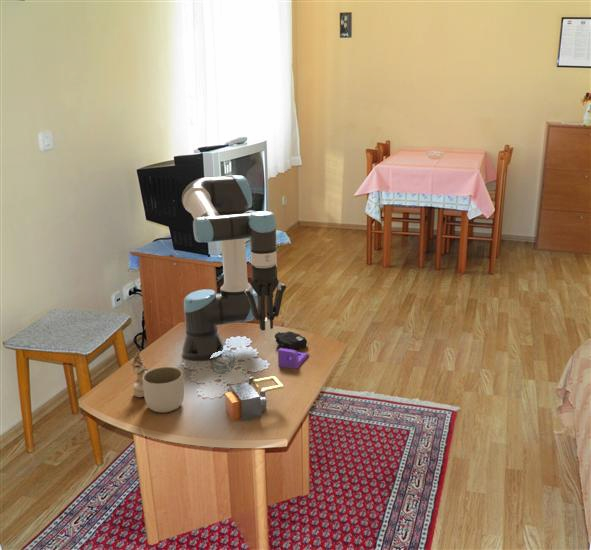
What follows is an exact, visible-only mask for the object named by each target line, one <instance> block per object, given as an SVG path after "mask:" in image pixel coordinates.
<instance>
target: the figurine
mask: <svg viewBox="0 0 591 550" xmlns="http://www.w3.org/2000/svg"><path fill="white" fill-rule="evenodd" d="M143 360H144V359H143V358H142V355H141V354H140V352H136V354H135V355H134V358H133V359H132V360H131V362H130V363H131V366H132V369H133V371H134V375H136V376H137V378H136V379H135V380H134V384H133V386H132V387H133V394H134V397H137V398H141V397H142V398H143V397H144V390H143V381H142V376H143V375H144V374H145V373H146V372H147V371H149V368H148V367H147V366H146V365H145V364H144V362H143Z"/></svg>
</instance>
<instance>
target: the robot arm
mask: <svg viewBox="0 0 591 550" xmlns="http://www.w3.org/2000/svg"><path fill="white" fill-rule="evenodd" d="M181 203H182V205H183V208H184V209H185V211H187V212H188V213H190V214H191V216H192V218H193V220H192V230H193V236H194V241H195V242H197V243H212V242H213V243H214V242H215V243H216V242H221V255H222V270H223V271H222V272H223V284H222V286H220V292H219V293H216V291H215V290H214V289H210V288H209V289H198V290H194V291H192V292H190V293H189V294H187V295H186V296H185V297H184V299H183V312H184V322H185V326H184V327H185V336H184V337H185V338H184V341H183V345H182V356H183V358H185V359H187V360H190V361H198V362H199V361H200V362H202V361H210V360H211V359H210V357H211V355H212V354H213V353H215V352H218V351H222V350H223V349H224V344H223V341H222V338H221V336H220V334H219V331H218V329H219V328H218V326H223V325H230V324H237V323H242V324H243V323H245V322H251V321H253V320H254V319H255V320H257V321H259V322H258V323H259V329H260V330H261V331H262V339H263V340H264V341H265V342H269V341H271V340H272V338H271V330H272V329H273V328H274V320H275V317H277V318H278V317H279V315H280V311H281V310H280V309H281V306H282V301H283V296H284V295H283V294H284V292H285V291H286V289H287V285H285V284H284V283H282V282H280V281H279V279H278V265H277V263H278V260H277V259H278V258H277V256H278V254H277V222H276V214H275V213H274V212H272V211H267V210H262V211H261V210H260V211H256V210H249V208H252V206H253V195H252V190H251V186H250V183H249V182H248V179H247V178H246V176H243V175H234V174H233V175H232V174H231V175H221V176H212V177H211V176H209V177H207V176H206V177H204V176H203V177H200V178H197V179H195V180H193V181H191V182H190V183H189V184H188V185H187V186H186V187H185V189H183V192H182V194H181ZM246 239H250V240H249V241H250V263H251V282H249V281H248V266H247V251H246V250H247V249H246V246H247V245H246ZM275 291H276V292H275ZM274 292H275V297H274ZM273 300H274V301H273Z"/></svg>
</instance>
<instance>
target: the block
mask: <svg viewBox="0 0 591 550" xmlns="http://www.w3.org/2000/svg"><path fill="white" fill-rule="evenodd" d="M254 378H255V376H249V377H248V381H245V382H240V383H235V384H230V392H232V391H233V393H234V394H235V395H236V397H237V398H238V399H239V401H240V413H241V419H240V420H241V421H242V422H246V421H251V420H255V419H258V418H259V419H260V418H262V411H261V398H262V397H264V398H266V392H265V390H260V392H258V390H256V389H255V387H254V386H253V384H252V383H251V380H255V379H254Z"/></svg>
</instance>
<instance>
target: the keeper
mask: <svg viewBox="0 0 591 550" xmlns="http://www.w3.org/2000/svg"><path fill="white" fill-rule="evenodd" d="M269 381H273V382H274V383H275V384H276V385H272V386H268V387H262V388H261V386H259V384H260V383H264V382H269ZM251 383H252V384H251V385H252V386H253V387H254V388H256V389H257V390H256V391H257V392H258V393H260V390H265V393H266V392H271V391H276V390H281V389H285V387H284V385H283V383H282V382H281V381H280V380H279V379H278V378H277V377H276V376H275V375H273V376H267V377H262V378H258V379H257V378H256V379H254V380H251Z"/></svg>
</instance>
